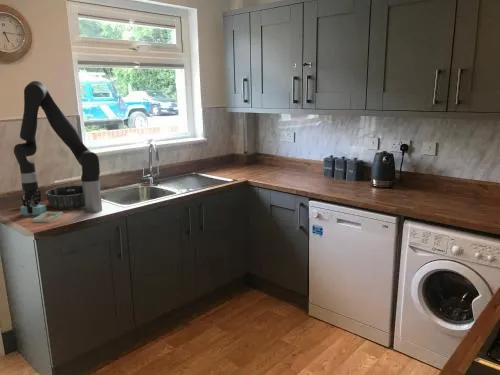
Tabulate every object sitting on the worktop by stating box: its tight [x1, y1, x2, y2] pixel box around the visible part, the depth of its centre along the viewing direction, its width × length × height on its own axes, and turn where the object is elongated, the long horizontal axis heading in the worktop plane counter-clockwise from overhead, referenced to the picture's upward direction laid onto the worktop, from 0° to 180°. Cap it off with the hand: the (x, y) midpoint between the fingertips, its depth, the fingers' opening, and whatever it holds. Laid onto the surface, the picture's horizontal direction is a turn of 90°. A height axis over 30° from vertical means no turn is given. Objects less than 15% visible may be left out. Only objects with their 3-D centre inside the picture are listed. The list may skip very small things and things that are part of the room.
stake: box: [22, 204, 39, 217], centre depth 222 cm, size 8×8×6 cm
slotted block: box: [19, 204, 48, 216], centre depth 222 cm, size 11×6×4 cm, turn 86°
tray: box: [31, 211, 64, 223], centre depth 214 cm, size 14×9×2 cm, turn 176°
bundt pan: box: [45, 184, 84, 211], centre depth 240 cm, size 26×26×10 cm
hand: (33, 211), depth 222 cm, fingers closed on slotted block, 5 cm apart
